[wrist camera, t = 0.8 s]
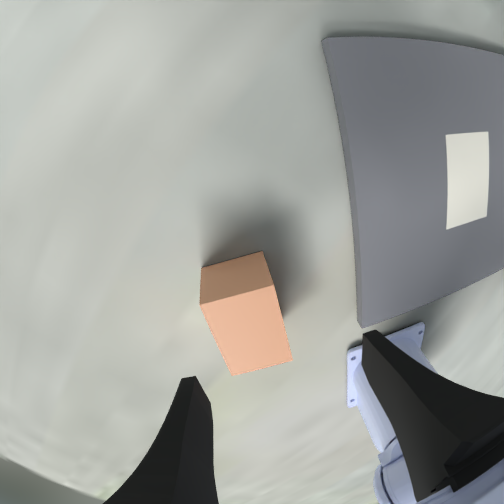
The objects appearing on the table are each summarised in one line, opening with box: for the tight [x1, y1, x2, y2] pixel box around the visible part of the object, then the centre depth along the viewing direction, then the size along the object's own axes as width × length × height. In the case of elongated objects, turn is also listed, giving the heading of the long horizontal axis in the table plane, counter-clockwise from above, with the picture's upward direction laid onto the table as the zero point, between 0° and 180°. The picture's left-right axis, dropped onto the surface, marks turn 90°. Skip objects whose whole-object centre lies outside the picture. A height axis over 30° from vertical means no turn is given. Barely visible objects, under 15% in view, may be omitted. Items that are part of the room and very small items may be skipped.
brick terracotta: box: [200, 251, 293, 376], centre depth 19 cm, size 6×4×4 cm, turn 14°
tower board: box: [321, 37, 504, 328], centre depth 18 cm, size 20×20×1 cm
